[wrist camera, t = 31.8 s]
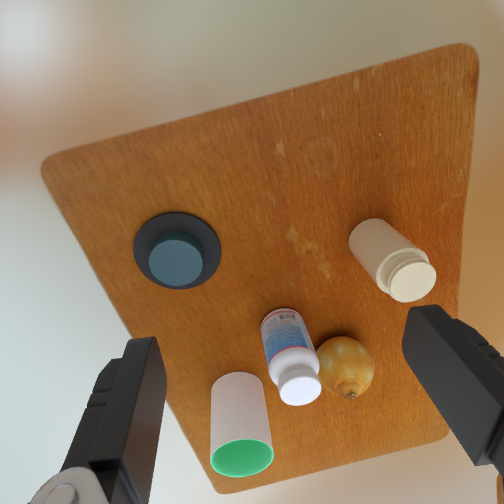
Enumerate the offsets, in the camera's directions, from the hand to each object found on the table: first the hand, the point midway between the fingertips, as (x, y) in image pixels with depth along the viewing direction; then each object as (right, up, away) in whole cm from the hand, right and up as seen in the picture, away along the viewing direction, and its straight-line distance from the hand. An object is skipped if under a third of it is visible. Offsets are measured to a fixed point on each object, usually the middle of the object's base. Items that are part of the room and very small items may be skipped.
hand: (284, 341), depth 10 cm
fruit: (+11, -12, +38) cm, 42 cm away
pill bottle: (+3, -7, +35) cm, 36 cm away
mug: (-3, -20, +41) cm, 46 cm away
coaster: (-10, +3, +28) cm, 30 cm away
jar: (+14, +4, +30) cm, 33 cm away
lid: (-10, +2, +26) cm, 28 cm away
